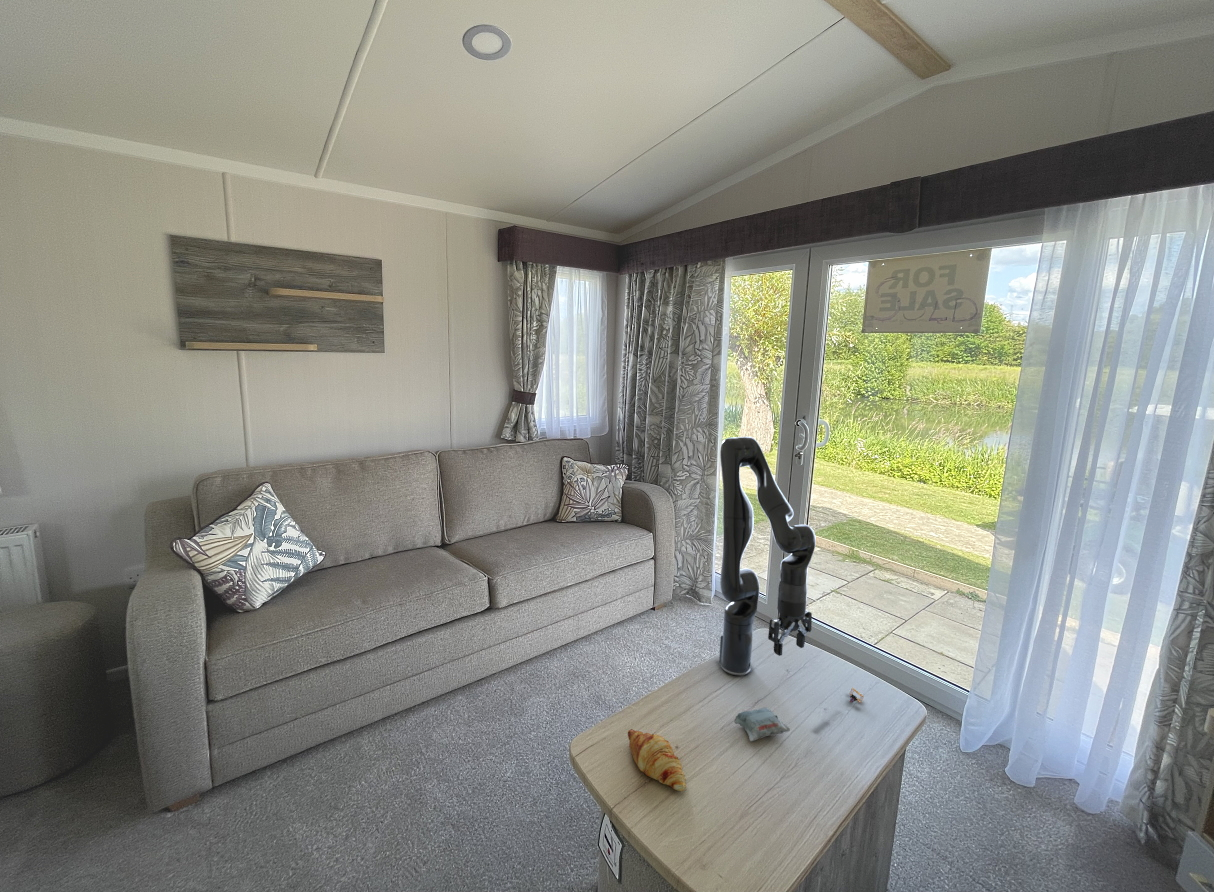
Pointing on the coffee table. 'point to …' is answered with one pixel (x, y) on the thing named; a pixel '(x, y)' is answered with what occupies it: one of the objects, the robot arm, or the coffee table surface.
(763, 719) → the packaged food
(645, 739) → the croissant
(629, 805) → the coffee table surface
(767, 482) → the robot arm
